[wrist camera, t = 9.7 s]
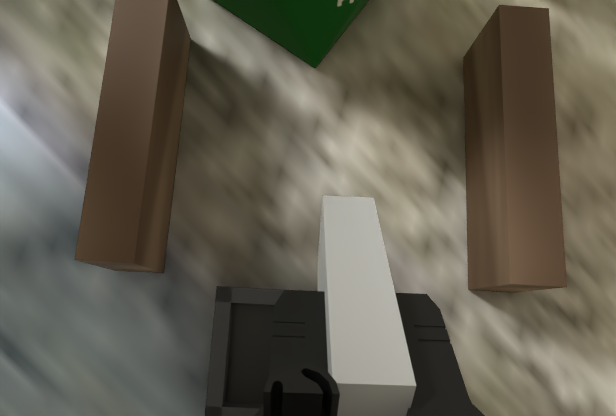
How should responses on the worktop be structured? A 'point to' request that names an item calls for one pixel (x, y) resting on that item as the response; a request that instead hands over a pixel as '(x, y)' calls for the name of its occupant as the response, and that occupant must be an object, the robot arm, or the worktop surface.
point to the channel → (478, 144)
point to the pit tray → (240, 350)
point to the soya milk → (299, 22)
